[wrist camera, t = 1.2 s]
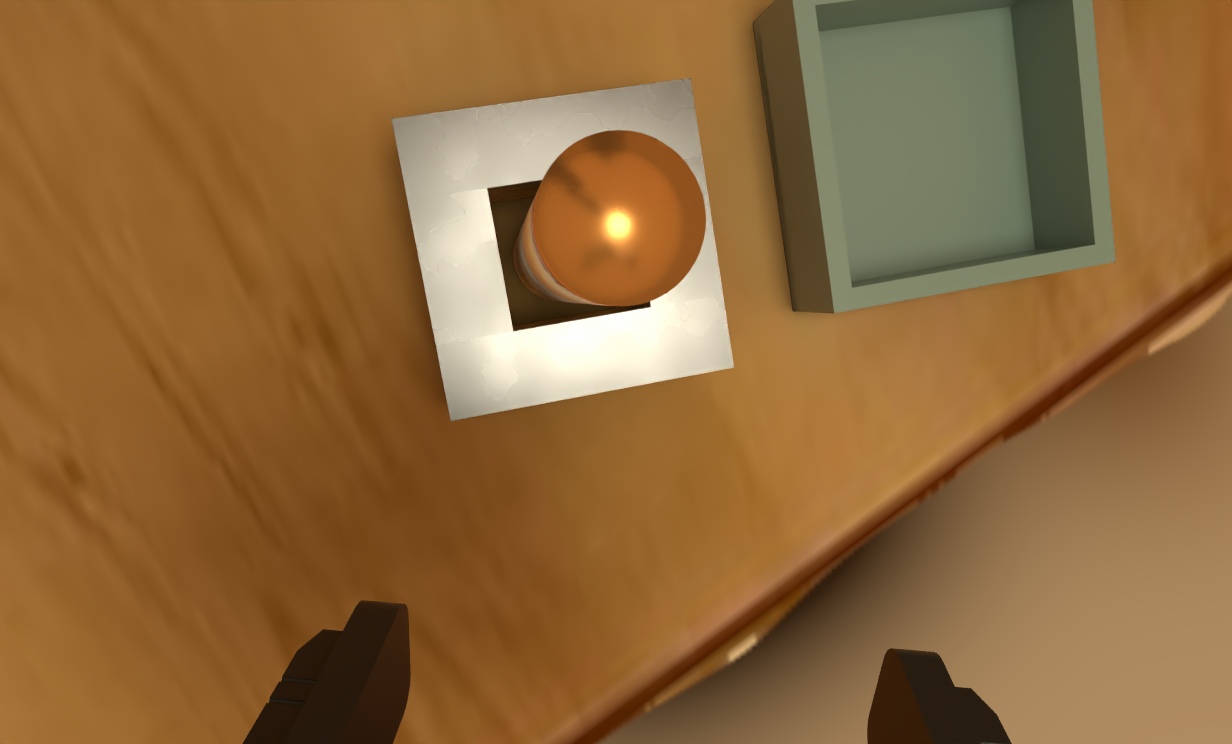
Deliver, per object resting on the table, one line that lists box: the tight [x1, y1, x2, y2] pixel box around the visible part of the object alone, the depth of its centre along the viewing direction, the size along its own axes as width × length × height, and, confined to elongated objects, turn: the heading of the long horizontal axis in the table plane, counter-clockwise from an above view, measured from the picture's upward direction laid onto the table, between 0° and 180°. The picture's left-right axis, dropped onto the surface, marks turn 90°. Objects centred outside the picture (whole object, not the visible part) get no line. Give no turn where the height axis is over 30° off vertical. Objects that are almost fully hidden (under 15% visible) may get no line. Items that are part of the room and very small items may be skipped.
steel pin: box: [514, 130, 706, 306], centre depth 24 cm, size 4×4×15 cm
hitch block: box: [392, 78, 734, 421], centre depth 29 cm, size 10×10×4 cm
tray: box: [753, 0, 1116, 313], centre depth 31 cm, size 12×12×4 cm
